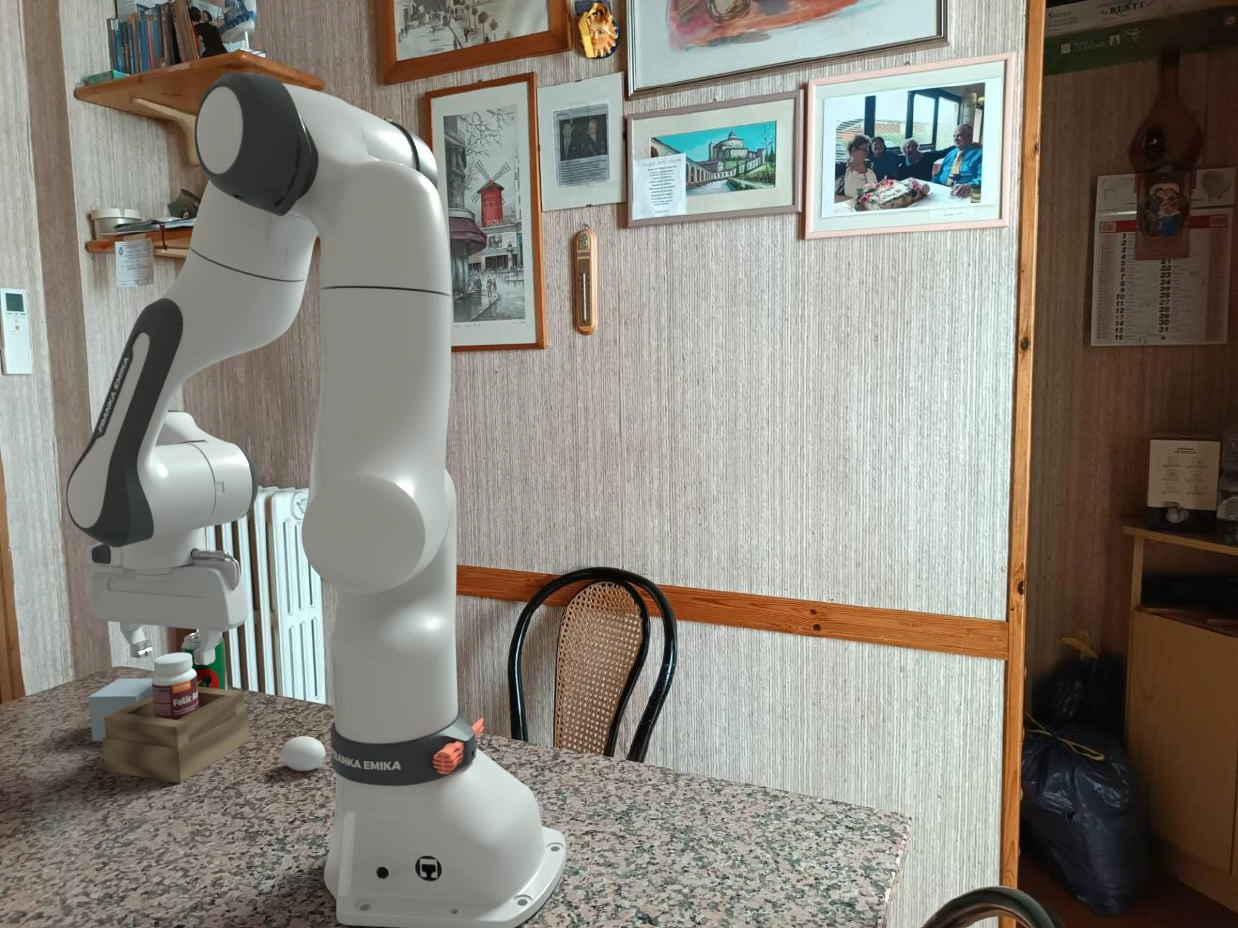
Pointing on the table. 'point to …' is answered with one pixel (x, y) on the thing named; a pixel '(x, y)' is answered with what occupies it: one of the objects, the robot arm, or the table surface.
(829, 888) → the table surface
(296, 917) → the table surface
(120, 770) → the wooden open box
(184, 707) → the pill bottle
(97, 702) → the slate block
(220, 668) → the soda can
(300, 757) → the egg
